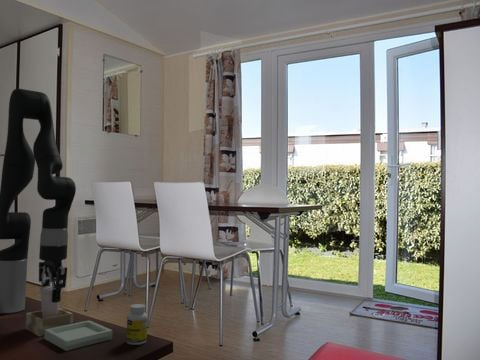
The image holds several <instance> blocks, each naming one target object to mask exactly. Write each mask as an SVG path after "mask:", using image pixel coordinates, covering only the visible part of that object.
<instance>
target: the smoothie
mask: <svg viewBox="0 0 480 360" xmlns="http://www.w3.org/2000/svg"><path fill="white" fill-rule="evenodd" d="M52 290H53V288H52V285H51V286H45V287H42V286H41V287H39V293H40V303H41V310H42V318H43V319H44V318H49V317H54V316H57V315H58V309H59V308H60V303H61V301H60V302H56V303H53V302H52ZM63 291H64V288H62V289H61V294H62V292H63Z"/></svg>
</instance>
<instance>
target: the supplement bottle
mask: <svg viewBox="0 0 480 360" xmlns="http://www.w3.org/2000/svg"><path fill="white" fill-rule="evenodd" d="M129 310H130V313H129V314H128V315H127V317H126V344H128V345H130V346H131V345H132V346H139V345H143V344H146V342H147V340H148V338H147V337H148V319H149V317H148V316H149V315H148V314H147V313H146V305H145V304H144V303H143V304H142V303H134V304H131V305H130V307H129Z"/></svg>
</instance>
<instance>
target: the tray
mask: <svg viewBox="0 0 480 360" xmlns="http://www.w3.org/2000/svg"><path fill="white" fill-rule="evenodd" d="M113 330H114V329H110V328H108V327H105V326H104V325H101V324H99V323H97V322H94V321H92V320H85V321H80V322H76V323H74V322H73V324H69V325H65V326H60V327H55V328H50V329H45V335H43V336H44V340H46V341H48V342H49V343H51V344H53V345H55V346H56V347H59V348H60V349H62V350H64V351H66V352H68V351H70V350H75V349H79V348H83V347H87V346H91V345H94V344H98V343H103V342H106V341H110V340H113Z"/></svg>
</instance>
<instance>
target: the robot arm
mask: <svg viewBox="0 0 480 360" xmlns="http://www.w3.org/2000/svg"><path fill="white" fill-rule="evenodd" d="M7 118H8V119H7V134H6V135H7V136H6V143H5V149H4V157H3V161H2V170H1V177H0V178H1V179H0V240H16V241H15V242H14V243H13V244H11V245H10V246H9V247H6V248H3V249H0V314H12V313H13V314H14V313H17V312H21V311H23V310H25V308H26V294H27V293H26V291H27V272H28V258H29V257H28V254H29V245H30V236H31V235H30V234H31V227H32V225H31V224H32V222H31V221H32V220H31V219H32V218H31V215H30V213H29V212H25V211H24V212H23V211H20V212H19V211H18V212H17V211H13V212H12V211H11V212H10V209H11V207H12V205H13V203H14V201H15V200H16V198H17V197H18V196H19V195H20V194H22V193H21V192H23V190H25V188H27V187H28V186H29V184H30V183H31V182H32V181H33V177H34V172H35V164H36V166H37V188H36V190H37V193H38V194H39V196H40V198H41V199H44V200H46V201H57V202H56V203H55V205H54V206H53V207H47V208H45V209H44V210H43V212H42V217H41V218H42V221H41V222H42V223H41V224H42V225H41V230H40V238H39V239H40V240H39V254H38V255H39V257H38V258H39V260H41V261H40V262H38V282H39V283H40V284H41V287H45V286H52V288H53V290H52V302H53V303H56V302H60V303H61V298H62V293H61V289H62V288H63V289H65V288H66V284H67V275H68V267H66V266H65V267H63V264H62V263H63V262H62V261H64V260H66V259H67V257H68V246H69V245H68V242H69V233H68V232H69V231H68V226H69V222H68V221H69V214H70V211H71V207H72V204H73V202H74V199H75V196H76V191H77V187H76V182H75V181H74V179H72V178H70V177H69V176H68V177H66V176H55V175H56V174H58V173H59V172H61V171H62V170H63V161H62V159H61V155H60V151H59V149H58V146H57V141H56V134H55V128H54V117H53V110H52V105H51V101H50V98H49V96H48V95H47V94H46V93H45V92H41V91H36V90H30V89H23V88H14V89H13V90H12V92H11V95H10V97H9V102H8V117H7ZM24 119H25V120H36V121H38V123H39V127H40V128H39V132H38V134H37V136H36V138H35V140H34V141H33V147H32V148H31V146H30V144H29V143H28V140H27V138H26V136H25V132H24Z"/></svg>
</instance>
